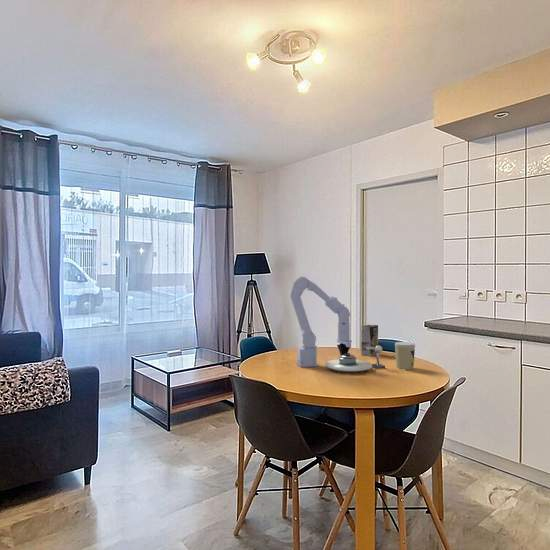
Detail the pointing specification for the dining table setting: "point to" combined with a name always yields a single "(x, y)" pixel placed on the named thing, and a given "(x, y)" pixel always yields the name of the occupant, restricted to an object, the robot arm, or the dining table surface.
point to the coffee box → (369, 339)
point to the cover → (347, 359)
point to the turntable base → (349, 371)
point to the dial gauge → (378, 350)
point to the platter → (358, 367)
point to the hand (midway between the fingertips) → (343, 359)
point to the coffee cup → (404, 355)
